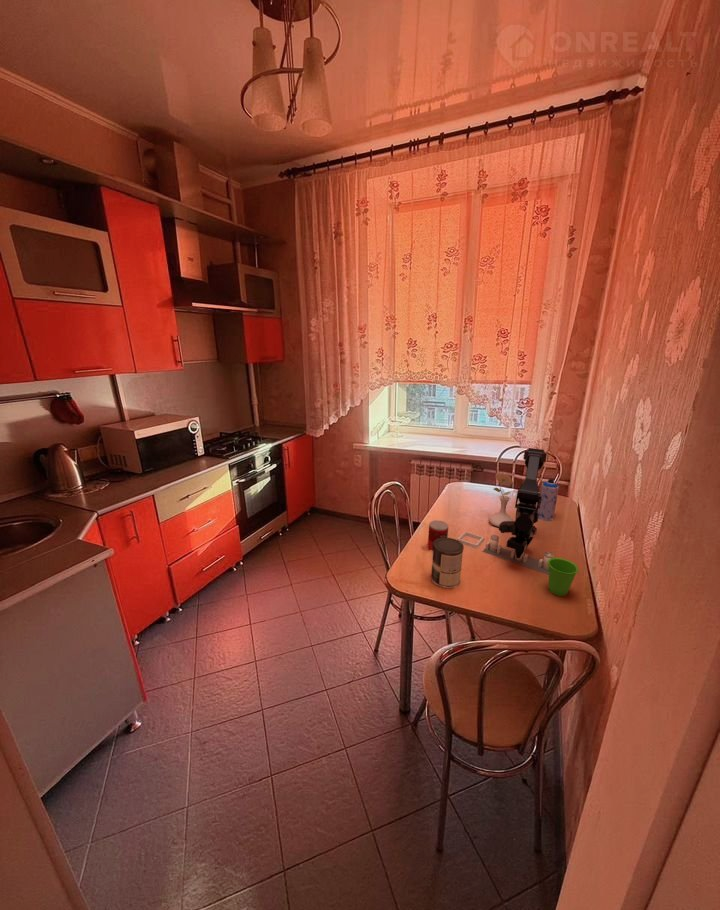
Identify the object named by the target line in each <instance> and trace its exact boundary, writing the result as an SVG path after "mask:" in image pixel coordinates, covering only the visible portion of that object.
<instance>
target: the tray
mask: <svg viewBox="0 0 720 910" xmlns="http://www.w3.org/2000/svg"><path fill="white" fill-rule="evenodd" d="M465 537H470V538H473V539H476V540H477V542H476V543H475V542H470V541H467V540H465V539H464V538H465ZM456 540H458V541H460V542H461V543H462V544H463V546H464V545H465V546H468V547H471V548H474V549H478V548H479V547H480V546H481V544H483V542H484V541H485V537H484V536H482V535H478V534H476V533H473V532H469V531H467V530H464V531H463V532H462V533H461V534H460V535H459V536H458V537H457V538H456Z"/></svg>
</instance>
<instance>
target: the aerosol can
mask: <svg viewBox="0 0 720 910" xmlns="http://www.w3.org/2000/svg"><path fill="white" fill-rule="evenodd" d="M559 490H560V489H559V485H558V484H557V482H555V480H554V478H549V479H548V480H546V481H544V482H542V483H541V485H540V490H539V493H540V494H541V496H542V498H541V505H540V509H539V508H538V513H539V516H538V520H541V521H544V522H545V521H546V522H552V521H554V519H555V511H556V506H557V500H558V494H559Z"/></svg>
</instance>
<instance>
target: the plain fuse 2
mask: <svg viewBox="0 0 720 910" xmlns="http://www.w3.org/2000/svg"><path fill="white" fill-rule="evenodd" d="M543 555H544V556H543V566H542V568H543V569H545V570H548V571H549V565H548V560H549V559H551V558H555V554H554V553H553V552H550V551H545V552H544V554H543Z"/></svg>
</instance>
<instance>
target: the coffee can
mask: <svg viewBox="0 0 720 910" xmlns="http://www.w3.org/2000/svg"><path fill="white" fill-rule="evenodd" d="M464 549H465V547H464V544H462V543H461V542H460V541H458V540H457V538H456V539H455V538H452V537H447V538H438V539H436V540H435V541H434V543H433V550H432V562H431V575H430V579H431V580H430V581H432V583H433V584H434V585H436V586H437V587H440V588H442V587H443V588H442V589H454V588H457V587H458V586H459V585H460V584H461V575H462V573H461V572H462V565H463V564H462V562H463V553H464Z"/></svg>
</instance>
